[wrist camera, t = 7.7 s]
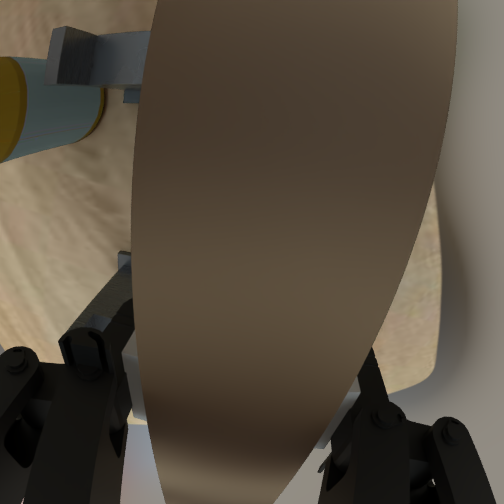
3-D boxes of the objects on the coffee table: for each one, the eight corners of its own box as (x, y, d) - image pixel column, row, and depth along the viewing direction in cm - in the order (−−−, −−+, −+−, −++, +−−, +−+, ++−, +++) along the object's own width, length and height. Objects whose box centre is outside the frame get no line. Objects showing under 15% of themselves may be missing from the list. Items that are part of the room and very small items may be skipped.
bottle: (122, 85, 20) (-28, 81, 7) (84, 156, 23) (-56, 212, 9) (70, 53, 19) (-69, 44, 5) (37, 120, 22) (-94, 153, 8)
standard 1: (120, 250, 26) (52, 321, 16) (204, 266, 26) (166, 355, 16) (122, 296, 29) (68, 373, 19) (200, 313, 29) (168, 405, 19)
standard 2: (135, 44, 19) (48, 13, 9) (235, 46, 19) (200, -7, 9) (126, 103, 21) (33, 105, 11) (224, 109, 21) (179, 103, 11)
